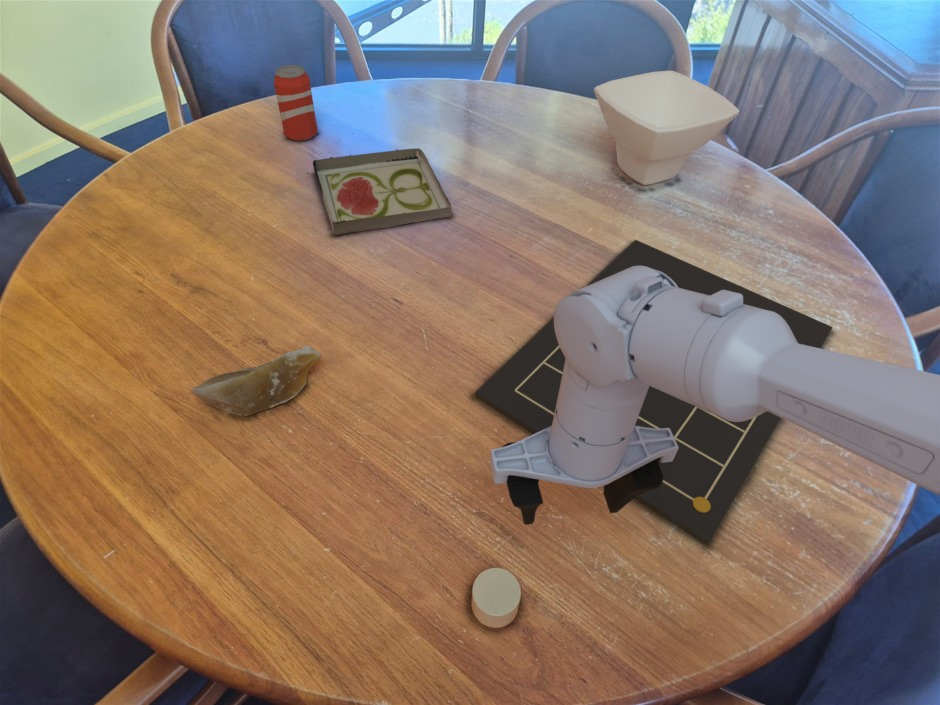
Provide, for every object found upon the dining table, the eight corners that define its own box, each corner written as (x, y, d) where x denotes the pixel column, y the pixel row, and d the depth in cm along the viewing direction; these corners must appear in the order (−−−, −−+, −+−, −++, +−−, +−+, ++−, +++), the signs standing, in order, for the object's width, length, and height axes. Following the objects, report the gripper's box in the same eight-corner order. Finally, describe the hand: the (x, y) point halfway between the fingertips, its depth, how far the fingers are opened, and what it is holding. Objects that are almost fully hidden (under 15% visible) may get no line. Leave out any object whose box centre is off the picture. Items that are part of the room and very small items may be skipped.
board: (707, 545, 63) (710, 540, 62) (475, 397, 75) (475, 391, 74) (829, 332, 84) (833, 326, 84) (634, 244, 97) (635, 238, 96)
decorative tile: (424, 161, 114) (313, 170, 109) (424, 146, 112) (311, 154, 107) (452, 224, 101) (327, 238, 96) (453, 208, 98) (325, 221, 94)
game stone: (526, 615, 57) (529, 603, 55) (483, 636, 56) (485, 624, 54) (505, 573, 60) (507, 560, 58) (463, 592, 59) (464, 579, 56)
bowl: (571, 161, 114) (584, 85, 104) (655, 139, 120) (674, 66, 110) (634, 214, 102) (654, 135, 92) (723, 187, 109) (751, 110, 99)
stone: (177, 364, 69) (306, 316, 73) (193, 388, 74) (313, 342, 79) (197, 418, 66) (330, 365, 71) (212, 439, 72) (334, 388, 76)
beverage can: (305, 123, 121) (293, 60, 112) (324, 135, 118) (315, 71, 109) (278, 134, 118) (264, 70, 109) (298, 146, 115) (285, 81, 106)
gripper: (669, 362, 48) (632, 460, 58) (486, 381, 46) (479, 479, 56) (707, 436, 43) (659, 528, 53) (504, 461, 41) (493, 552, 51)
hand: (568, 508), depth 54 cm, fingers open, 7 cm apart
